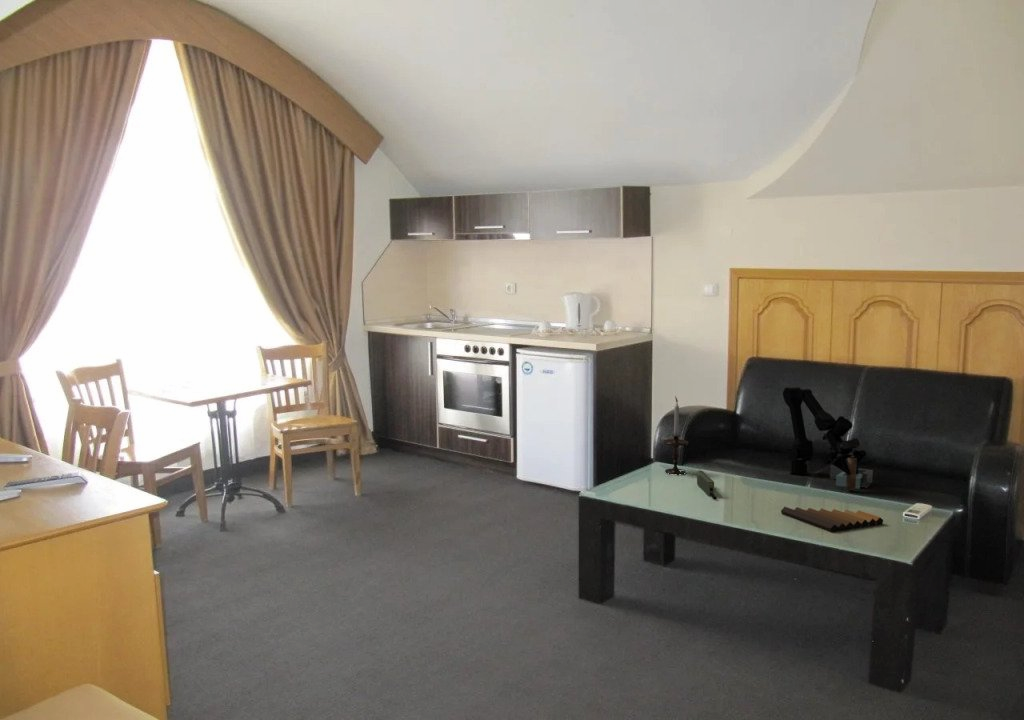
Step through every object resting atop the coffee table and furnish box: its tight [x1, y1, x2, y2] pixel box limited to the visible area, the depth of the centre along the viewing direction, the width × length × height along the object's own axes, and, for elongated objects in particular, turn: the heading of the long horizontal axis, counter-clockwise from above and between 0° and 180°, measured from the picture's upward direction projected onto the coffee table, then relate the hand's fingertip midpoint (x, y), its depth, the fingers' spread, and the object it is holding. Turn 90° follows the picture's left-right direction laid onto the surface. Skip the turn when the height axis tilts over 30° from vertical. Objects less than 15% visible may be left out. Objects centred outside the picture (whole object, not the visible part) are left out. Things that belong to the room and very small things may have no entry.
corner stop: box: [829, 464, 874, 487], centre depth 372 cm, size 17×10×6 cm, turn 55°
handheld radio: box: [696, 469, 717, 500], centre depth 356 cm, size 7×3×25 cm
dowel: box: [845, 457, 858, 491], centre depth 358 cm, size 4×4×13 cm
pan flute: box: [780, 506, 884, 534], centre depth 318 cm, size 25×3×25 cm
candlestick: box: [663, 395, 689, 475], centre depth 389 cm, size 11×11×35 cm
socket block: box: [835, 472, 862, 489], centre depth 370 cm, size 10×10×4 cm
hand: (853, 474), depth 356 cm, fingers closed on dowel, 4 cm apart
